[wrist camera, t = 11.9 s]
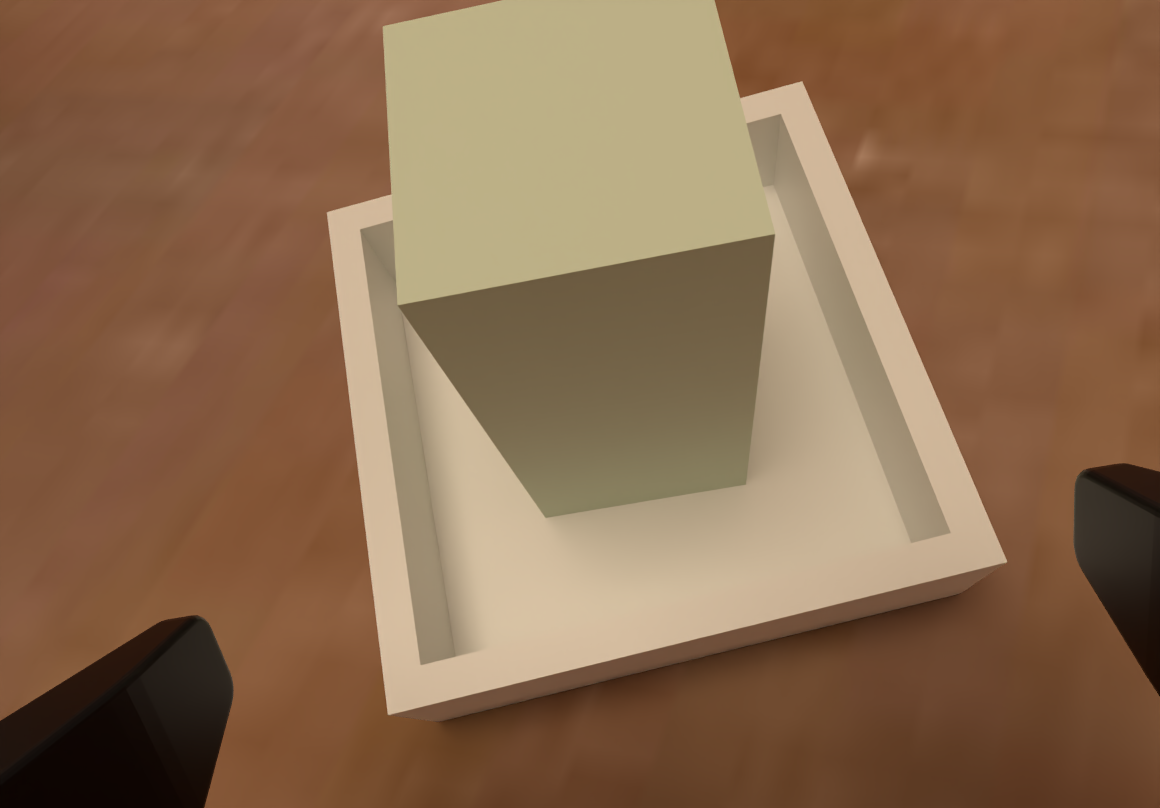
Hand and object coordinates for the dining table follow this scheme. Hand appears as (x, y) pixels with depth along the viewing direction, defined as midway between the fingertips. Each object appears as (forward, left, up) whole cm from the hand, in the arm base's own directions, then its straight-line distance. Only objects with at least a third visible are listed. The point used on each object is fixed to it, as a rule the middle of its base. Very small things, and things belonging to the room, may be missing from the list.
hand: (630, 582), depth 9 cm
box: (+7, -1, -12) cm, 14 cm away
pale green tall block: (+7, -1, -12) cm, 14 cm away
